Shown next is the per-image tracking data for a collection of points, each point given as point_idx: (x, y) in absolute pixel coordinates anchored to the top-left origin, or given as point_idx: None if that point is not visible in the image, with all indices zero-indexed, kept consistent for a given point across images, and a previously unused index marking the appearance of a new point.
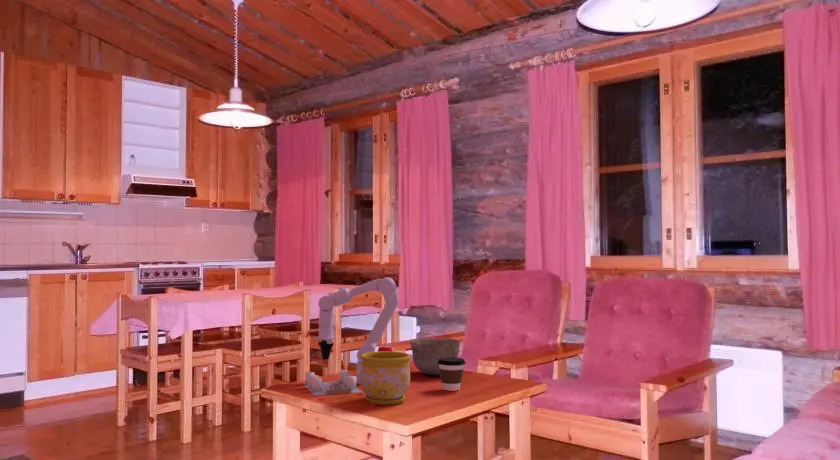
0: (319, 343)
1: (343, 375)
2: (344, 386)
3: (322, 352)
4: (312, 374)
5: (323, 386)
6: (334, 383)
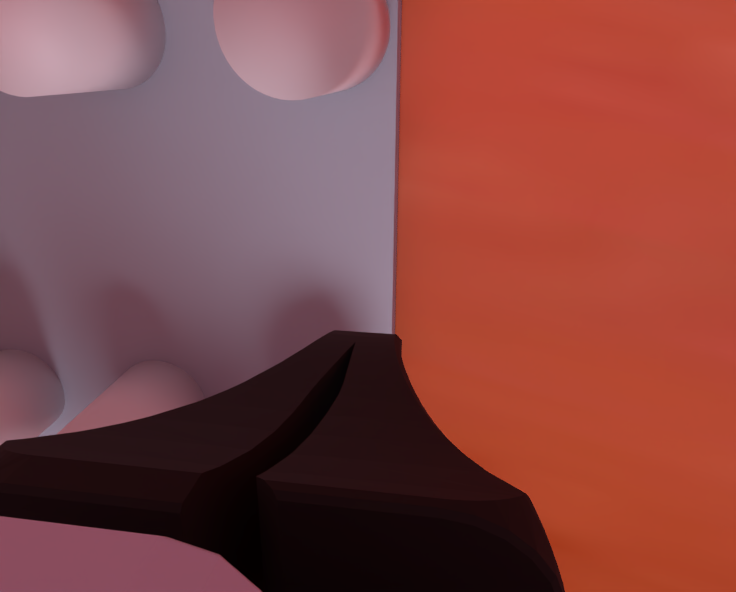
0: (106, 462)
1: (83, 418)
2: (127, 365)
3: (251, 380)
4: (226, 49)
5: (164, 165)
6: (300, 321)
